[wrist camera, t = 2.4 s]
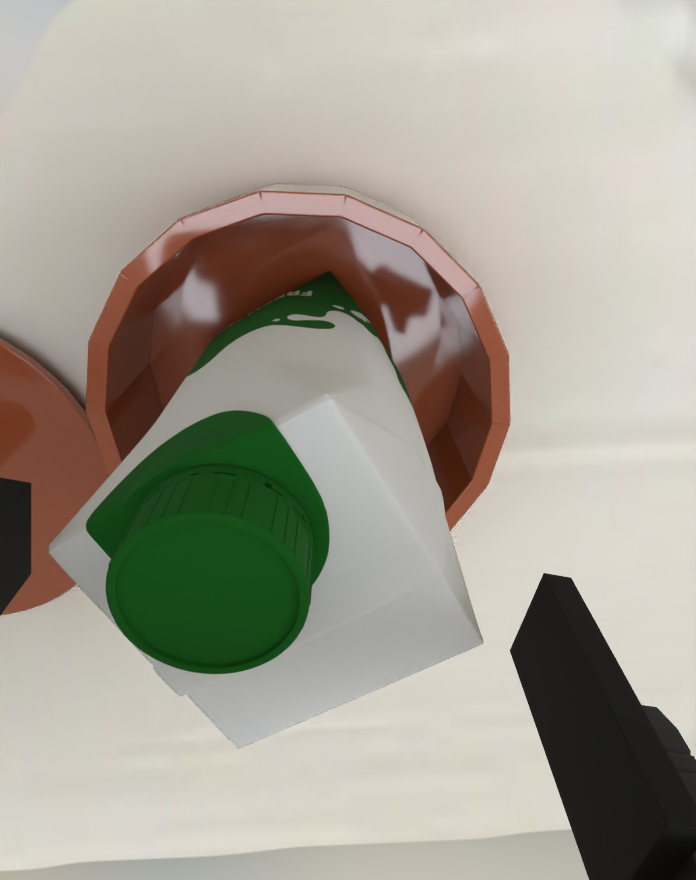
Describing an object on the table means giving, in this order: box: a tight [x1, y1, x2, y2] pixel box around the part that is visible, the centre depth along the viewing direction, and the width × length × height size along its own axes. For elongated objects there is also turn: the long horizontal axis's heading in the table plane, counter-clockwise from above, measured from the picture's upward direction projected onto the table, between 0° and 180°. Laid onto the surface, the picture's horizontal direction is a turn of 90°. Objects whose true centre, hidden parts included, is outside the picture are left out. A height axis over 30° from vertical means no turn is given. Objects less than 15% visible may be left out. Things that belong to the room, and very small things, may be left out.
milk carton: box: [49, 271, 483, 748], centre depth 22 cm, size 9×9×20 cm
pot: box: [86, 183, 510, 531], centre depth 28 cm, size 17×17×7 cm
